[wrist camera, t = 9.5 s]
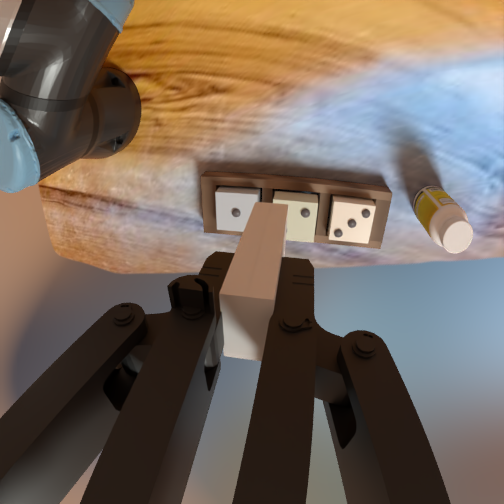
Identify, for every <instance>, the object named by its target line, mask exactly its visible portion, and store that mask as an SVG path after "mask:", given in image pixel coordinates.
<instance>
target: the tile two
mask: <svg viewBox="0 0 504 504" xmlns="http://www.w3.org/2000/svg"><path fill="white" fill-rule="evenodd" d="M273 203H277V204H288V216H287V230H286V240H291V241H302V242H312V243H313V242H314V235H315V226H316V218H317V209H318V196H317V195H316V194H306V193H295V192H283V191H275V194H274V198H273Z"/></svg>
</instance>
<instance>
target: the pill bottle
mask: <svg viewBox="0 0 504 504" xmlns="http://www.w3.org/2000/svg"><path fill="white" fill-rule="evenodd" d="M413 209H414V213H415V215H416V217H417V218H418V220H419V221H420V223H421V224H422V225H423V227H424V228H425V230H426V231H427V232H428V234H429V235H430V237H431V238H432V240H433V241H434V242H435V243H436V244H437V245H439V246H442V247H444V248H445V249H446V250H447V251H448V252H450V253H459V252H462V251H463V250H465V249H466V248H467V247H468V246H469V244H470V243H471V241H472V237H473V230H472V227H471V225H470V224H469V223H468V218H467V215H466V213H465V211H464V210H463V209H462V208H461V207H460V206H459V205H458V204H457V203H456V202H455V201H454V200H453V199H452V198H451V197H450V196H449V195H448V194H447V193H446V192H445V191H443V190H442V189H441V188H439V187H437V186H427V187H424V188H422V189H421V190H420V191H419V192H418V193H417V194H416V196H415V199H414V202H413Z"/></svg>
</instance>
